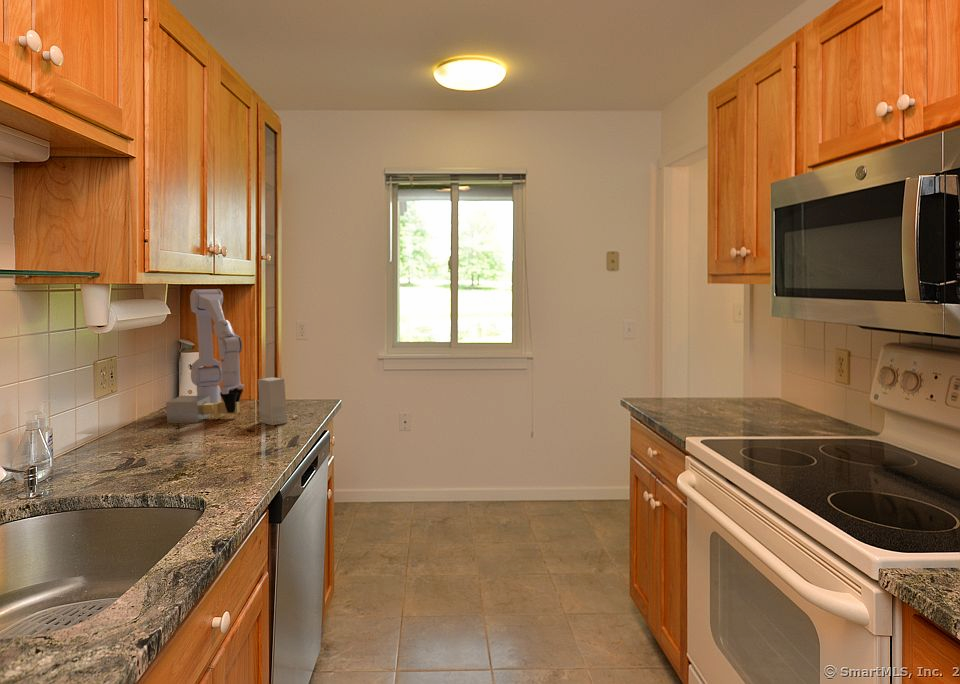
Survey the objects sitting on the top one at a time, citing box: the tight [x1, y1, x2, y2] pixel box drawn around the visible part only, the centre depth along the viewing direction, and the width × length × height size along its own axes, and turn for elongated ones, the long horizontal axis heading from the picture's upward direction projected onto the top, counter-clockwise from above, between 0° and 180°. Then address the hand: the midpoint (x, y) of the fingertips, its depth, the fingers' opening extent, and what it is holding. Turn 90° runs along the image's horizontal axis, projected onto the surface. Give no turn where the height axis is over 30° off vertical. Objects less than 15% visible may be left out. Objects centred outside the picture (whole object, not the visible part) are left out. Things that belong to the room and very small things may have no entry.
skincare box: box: [257, 377, 288, 426], centre depth 217 cm, size 8×6×15 cm
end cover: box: [202, 400, 241, 420], centre depth 224 cm, size 6×15×5 cm, turn 93°
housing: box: [166, 395, 212, 424], centre depth 223 cm, size 12×10×7 cm
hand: (232, 411), depth 224 cm, fingers closed on end cover, 3 cm apart
